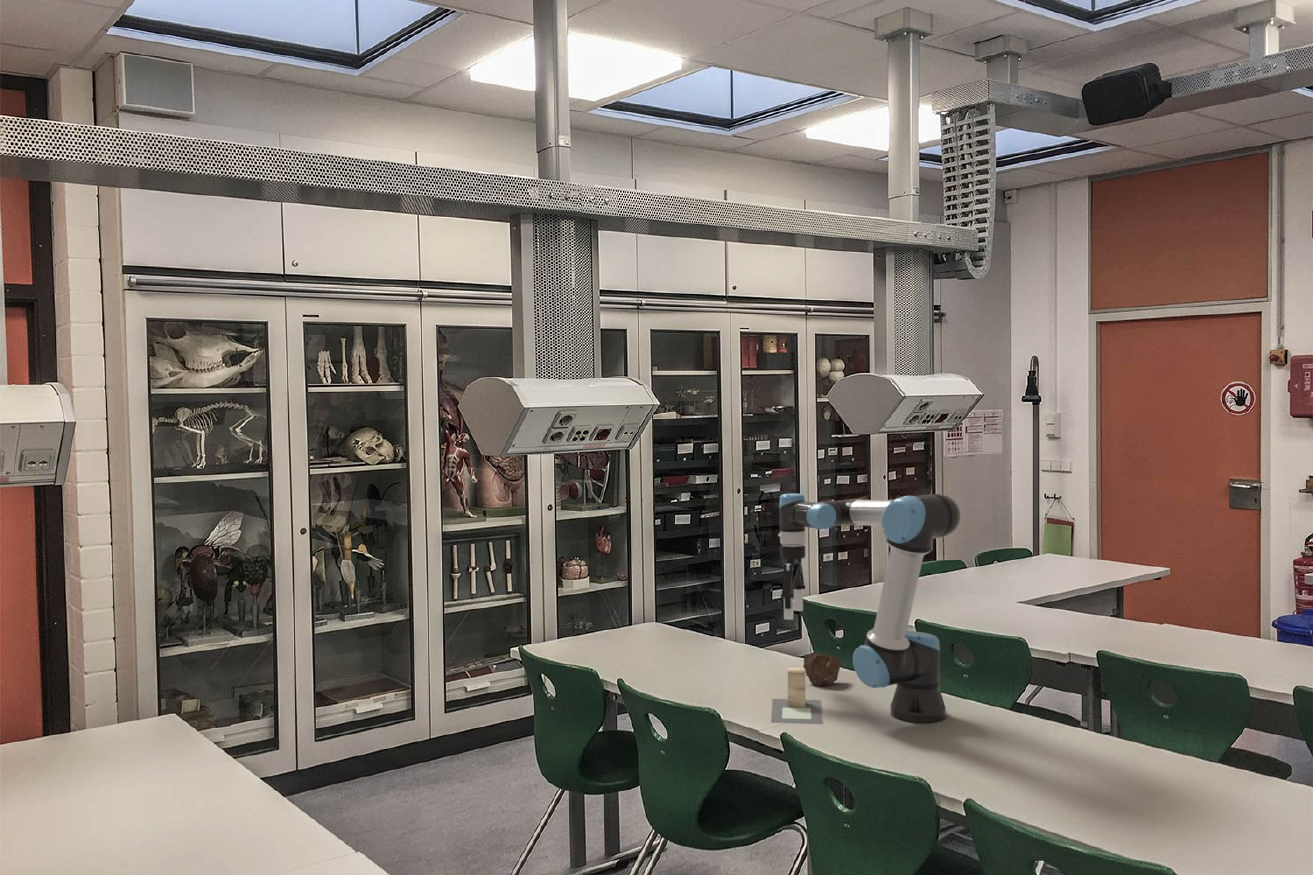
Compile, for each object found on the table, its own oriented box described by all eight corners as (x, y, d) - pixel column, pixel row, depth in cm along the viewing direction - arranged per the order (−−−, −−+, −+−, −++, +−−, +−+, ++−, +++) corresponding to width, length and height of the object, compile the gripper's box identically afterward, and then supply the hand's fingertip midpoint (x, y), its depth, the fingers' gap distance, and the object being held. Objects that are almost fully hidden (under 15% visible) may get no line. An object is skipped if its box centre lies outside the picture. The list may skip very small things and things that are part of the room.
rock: (835, 663, 328) (850, 651, 320) (837, 694, 323) (851, 683, 315) (799, 656, 326) (813, 644, 318) (800, 687, 320) (814, 676, 312)
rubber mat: (772, 700, 306) (772, 698, 305) (820, 701, 304) (820, 699, 304) (771, 723, 284) (771, 721, 284) (822, 725, 282) (822, 723, 282)
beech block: (787, 701, 303) (787, 667, 302) (805, 702, 302) (805, 668, 301) (787, 706, 298) (787, 672, 297) (805, 707, 297) (805, 672, 296)
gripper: (789, 539, 326) (790, 606, 326) (770, 550, 302) (771, 622, 303) (813, 540, 323) (814, 607, 324) (796, 550, 300) (797, 623, 300)
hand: (793, 614), depth 313 cm, fingers open, 13 cm apart
